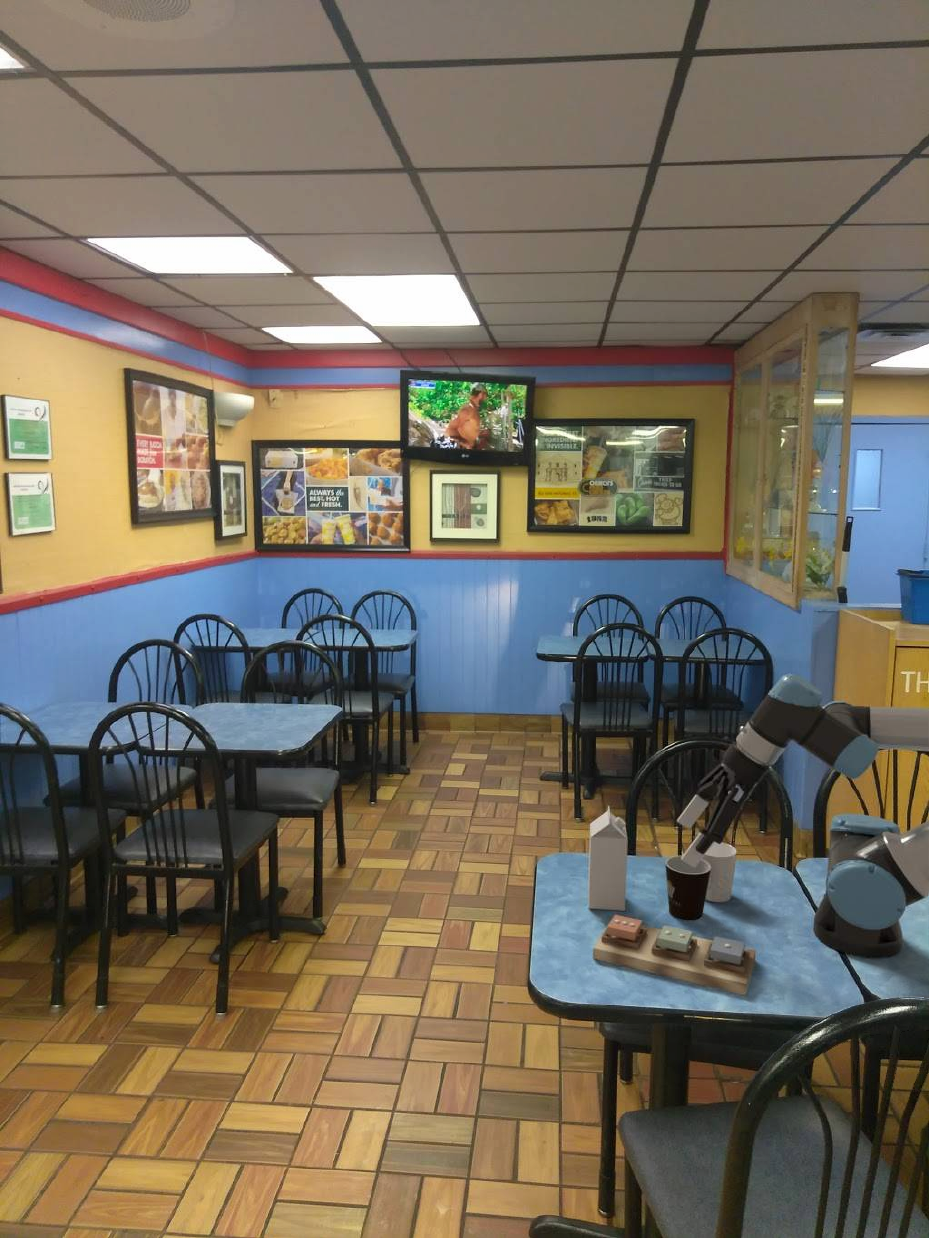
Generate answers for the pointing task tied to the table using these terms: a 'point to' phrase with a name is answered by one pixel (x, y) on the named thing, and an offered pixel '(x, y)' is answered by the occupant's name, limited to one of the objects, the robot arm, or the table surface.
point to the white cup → (720, 871)
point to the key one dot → (727, 950)
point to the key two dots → (674, 938)
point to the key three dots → (624, 927)
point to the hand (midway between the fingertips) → (685, 843)
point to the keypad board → (676, 960)
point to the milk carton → (607, 863)
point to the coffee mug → (686, 888)
